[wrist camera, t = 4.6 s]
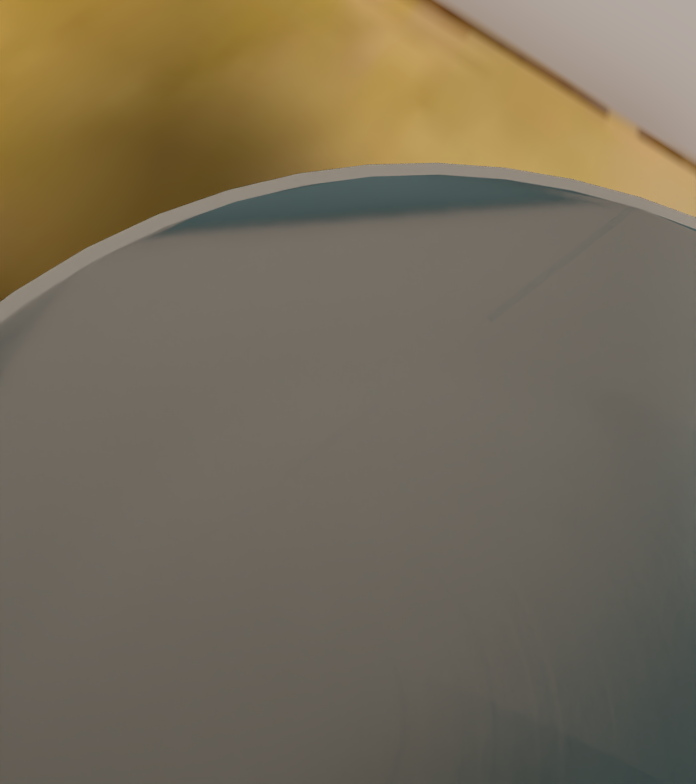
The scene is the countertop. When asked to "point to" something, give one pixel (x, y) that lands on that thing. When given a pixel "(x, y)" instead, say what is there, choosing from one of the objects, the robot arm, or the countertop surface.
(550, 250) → the cup
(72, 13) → the countertop surface
